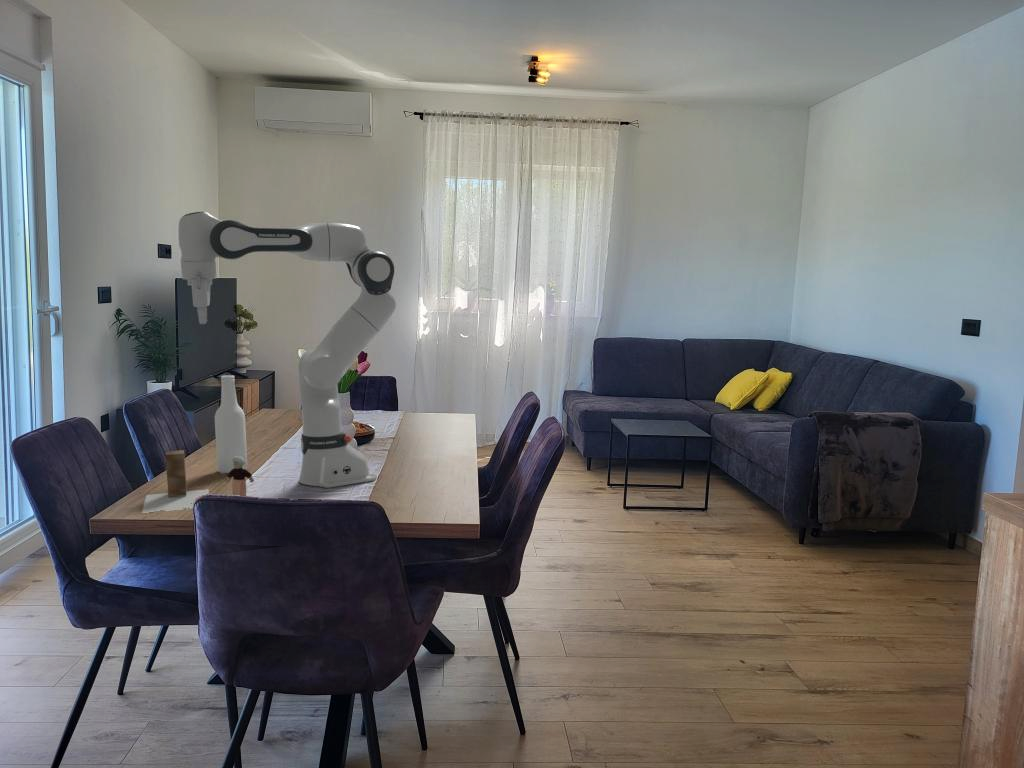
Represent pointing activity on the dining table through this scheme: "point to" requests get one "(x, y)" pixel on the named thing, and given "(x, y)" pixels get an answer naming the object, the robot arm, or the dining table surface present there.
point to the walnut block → (176, 473)
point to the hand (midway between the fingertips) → (203, 323)
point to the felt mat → (171, 501)
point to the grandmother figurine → (239, 476)
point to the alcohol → (229, 428)
